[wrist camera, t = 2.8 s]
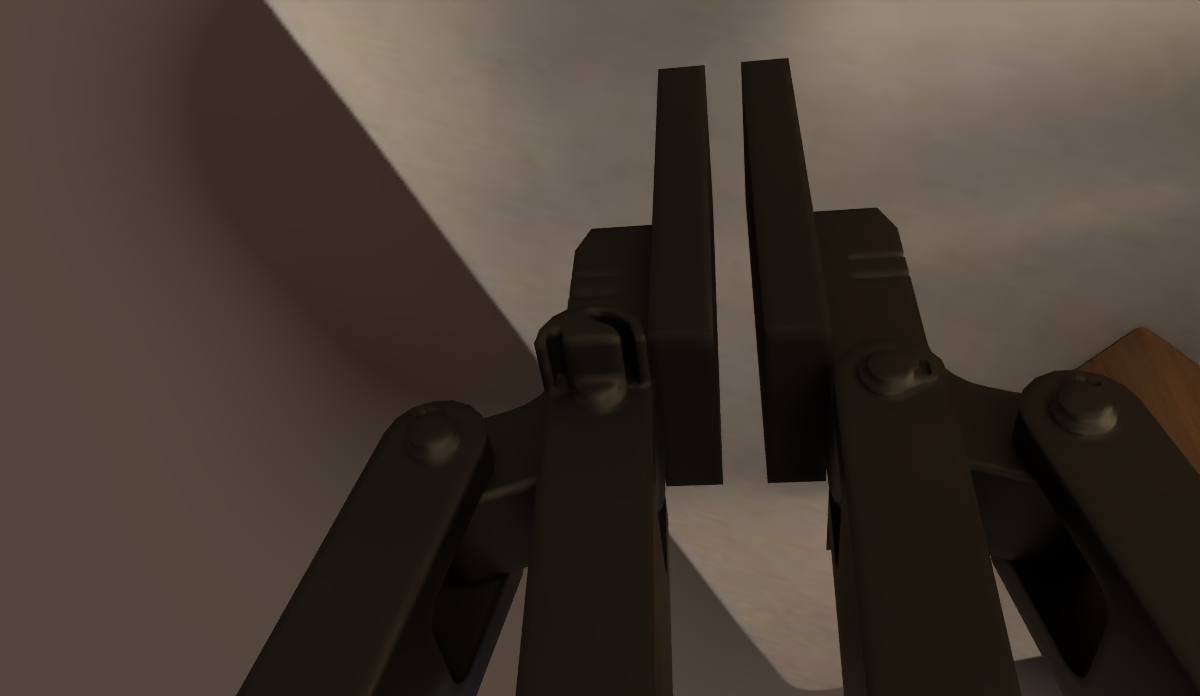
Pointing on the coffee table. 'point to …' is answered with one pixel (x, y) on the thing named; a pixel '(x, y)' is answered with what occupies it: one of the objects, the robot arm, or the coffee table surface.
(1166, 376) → the wooden block
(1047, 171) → the coffee table surface
